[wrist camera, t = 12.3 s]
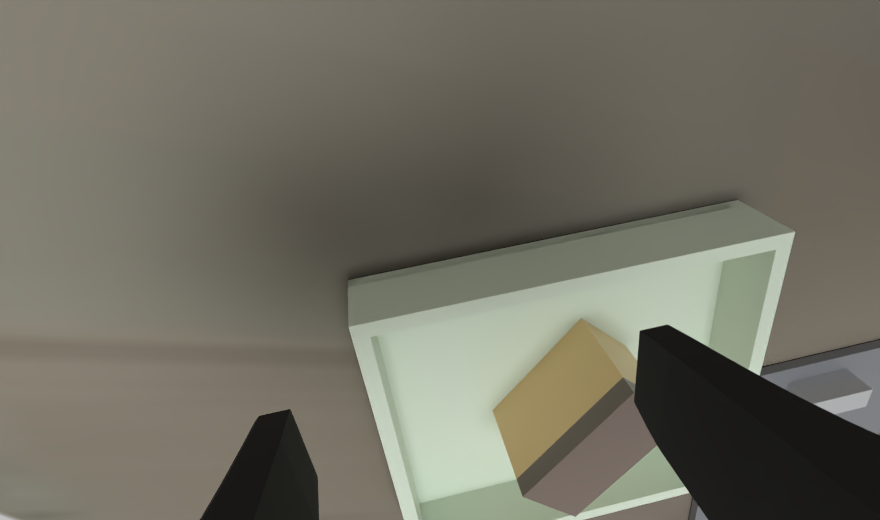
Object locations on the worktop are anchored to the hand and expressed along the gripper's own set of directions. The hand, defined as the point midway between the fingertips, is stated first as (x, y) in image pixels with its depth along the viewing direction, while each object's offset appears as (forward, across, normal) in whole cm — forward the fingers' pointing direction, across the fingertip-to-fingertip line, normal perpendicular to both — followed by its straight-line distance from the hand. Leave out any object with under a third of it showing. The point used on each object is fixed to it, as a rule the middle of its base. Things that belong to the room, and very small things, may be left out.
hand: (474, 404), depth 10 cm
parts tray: (+9, -5, +9) cm, 14 cm away
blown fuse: (+9, -5, +9) cm, 14 cm away
